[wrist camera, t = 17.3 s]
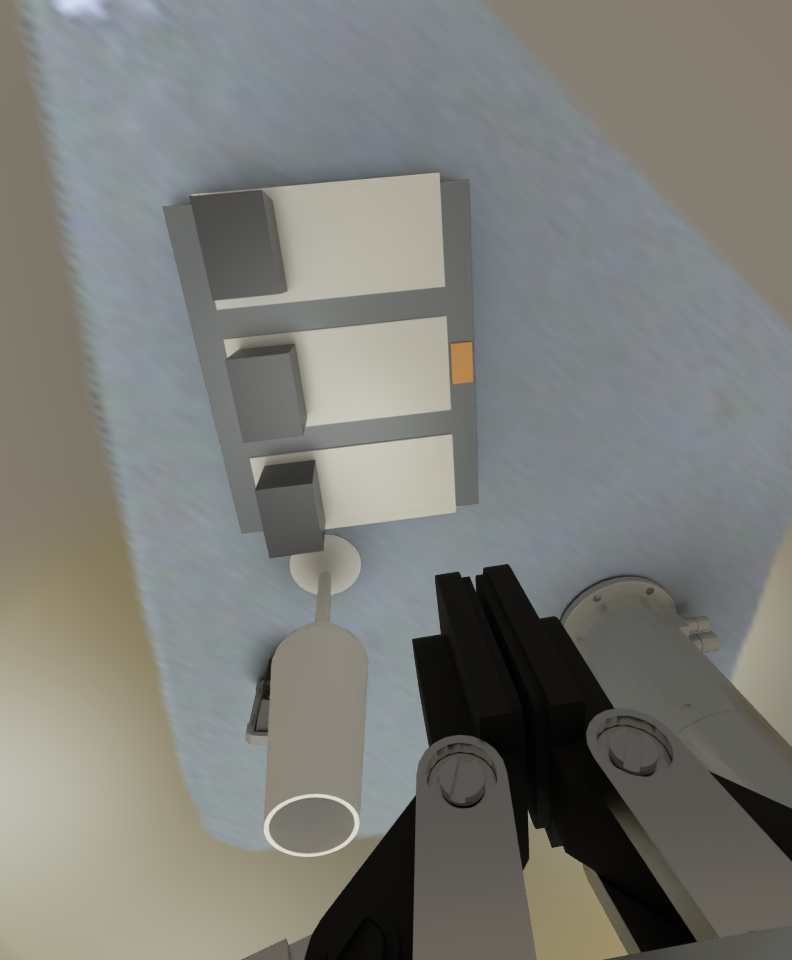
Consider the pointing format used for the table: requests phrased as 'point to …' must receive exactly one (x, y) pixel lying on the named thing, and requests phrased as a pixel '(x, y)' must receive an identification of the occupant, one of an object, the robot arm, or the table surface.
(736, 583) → the table surface
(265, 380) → the block
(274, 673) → the champagne flute
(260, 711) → the electrical switch
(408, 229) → the breaker panel
